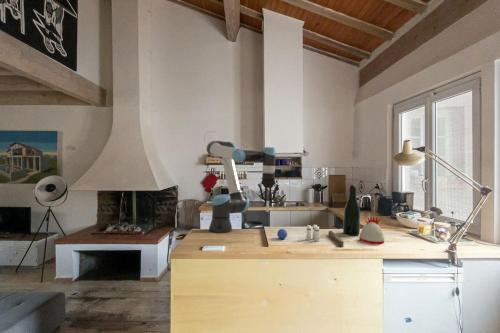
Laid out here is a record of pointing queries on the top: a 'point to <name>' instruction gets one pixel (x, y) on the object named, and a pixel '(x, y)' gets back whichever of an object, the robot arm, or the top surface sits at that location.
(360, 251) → the top surface
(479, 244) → the top surface
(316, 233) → the back right pin
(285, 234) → the ball
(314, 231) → the back left pin
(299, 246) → the top surface
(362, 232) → the spiked dome hat
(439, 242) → the top surface
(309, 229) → the front pin
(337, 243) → the back wall
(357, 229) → the green wine bottle
